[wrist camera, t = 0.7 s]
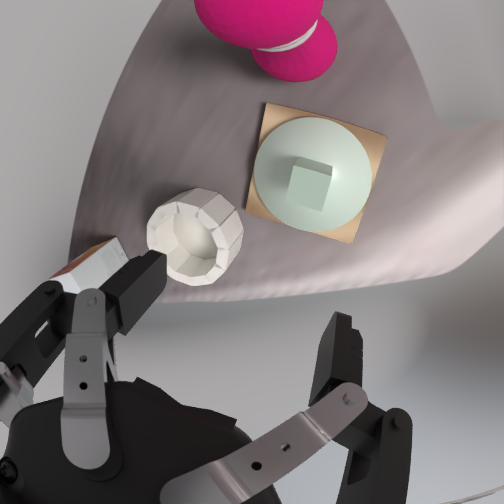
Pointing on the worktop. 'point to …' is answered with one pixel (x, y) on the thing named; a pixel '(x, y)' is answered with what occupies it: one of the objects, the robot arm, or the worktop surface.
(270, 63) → the pepper mill
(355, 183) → the lid
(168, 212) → the bowl
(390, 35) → the worktop surface
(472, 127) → the worktop surface
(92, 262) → the small box
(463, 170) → the worktop surface
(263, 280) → the worktop surface
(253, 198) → the plate
